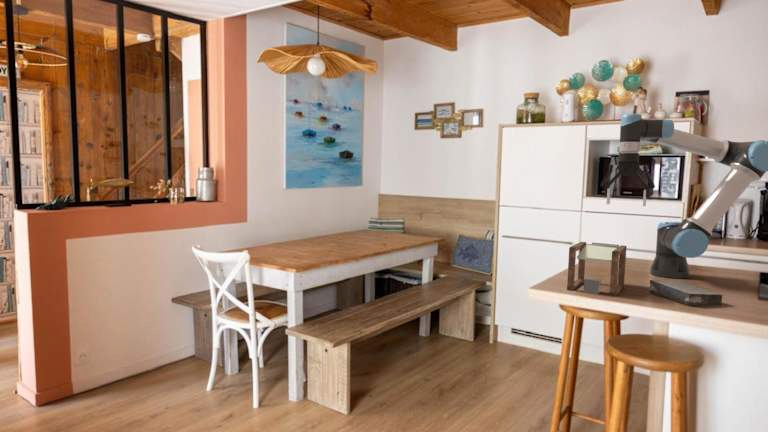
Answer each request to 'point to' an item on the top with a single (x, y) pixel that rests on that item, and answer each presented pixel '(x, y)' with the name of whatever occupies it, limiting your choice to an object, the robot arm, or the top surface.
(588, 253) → the hatch
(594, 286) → the grey cube
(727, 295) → the top surface
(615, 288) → the walnut frame
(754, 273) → the top surface
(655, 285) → the block
